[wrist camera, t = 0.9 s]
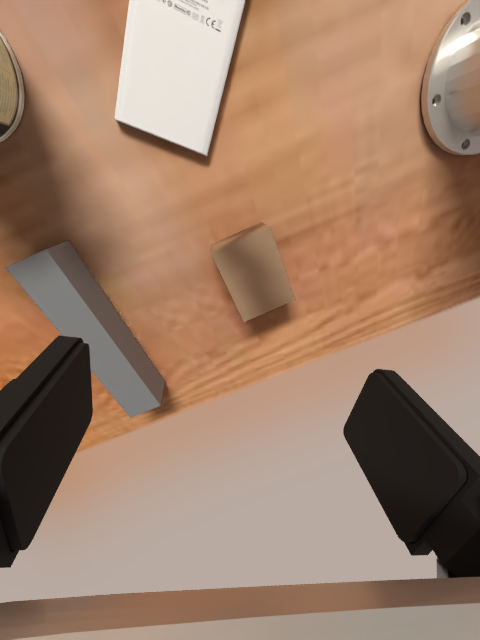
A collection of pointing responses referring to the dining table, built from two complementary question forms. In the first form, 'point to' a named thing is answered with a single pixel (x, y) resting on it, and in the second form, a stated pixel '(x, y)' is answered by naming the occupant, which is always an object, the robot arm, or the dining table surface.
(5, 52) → the coffee can
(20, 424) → the robot arm
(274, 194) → the dining table surface
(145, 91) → the external hard drive
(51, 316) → the board
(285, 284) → the walnut block
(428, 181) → the dining table surface
